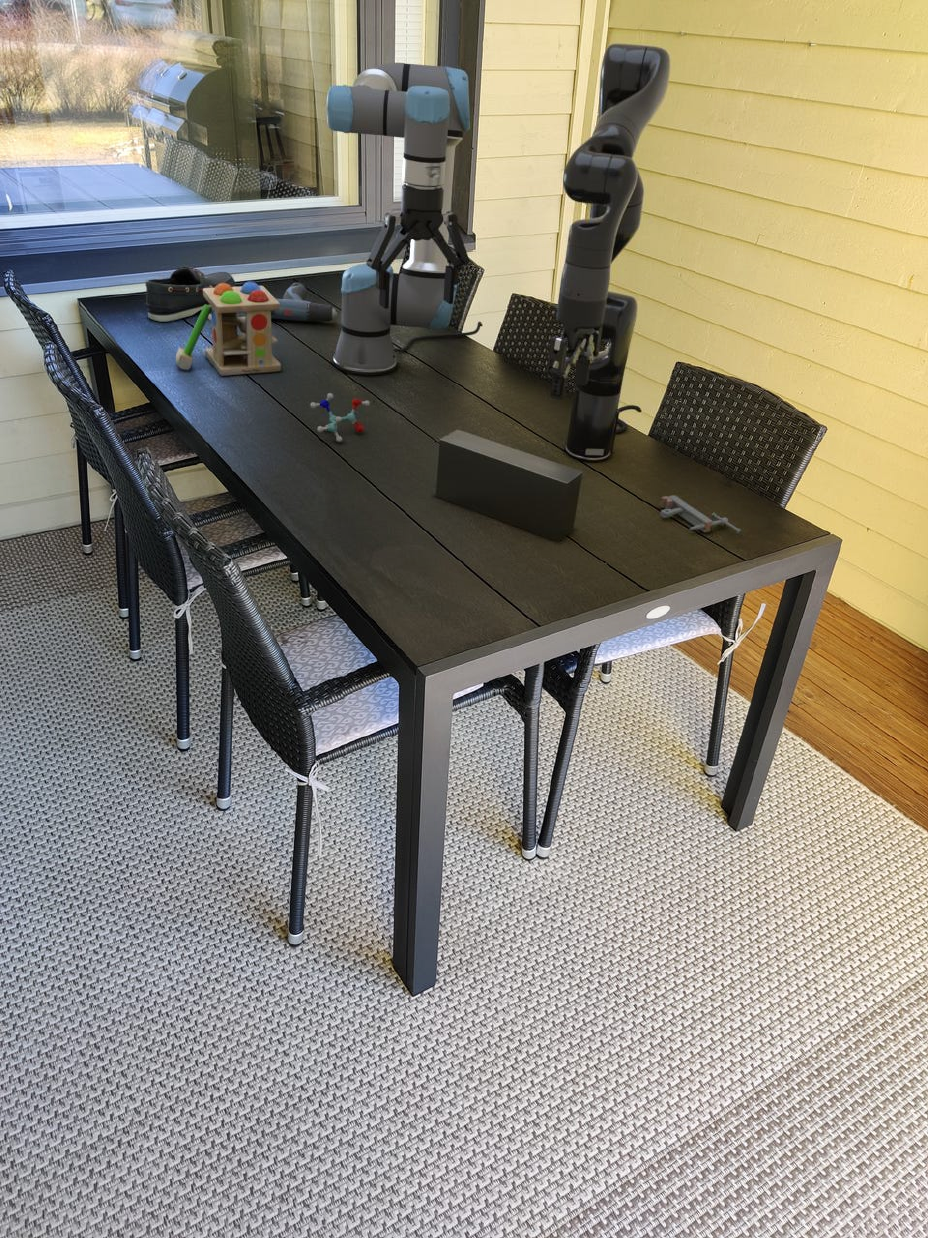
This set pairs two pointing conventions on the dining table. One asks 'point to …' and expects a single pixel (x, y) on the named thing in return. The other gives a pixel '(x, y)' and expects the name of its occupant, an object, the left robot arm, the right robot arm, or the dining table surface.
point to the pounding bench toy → (229, 347)
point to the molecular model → (335, 420)
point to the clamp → (672, 508)
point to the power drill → (301, 307)
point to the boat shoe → (181, 293)
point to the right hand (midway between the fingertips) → (568, 390)
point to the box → (508, 484)
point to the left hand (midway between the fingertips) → (416, 304)
